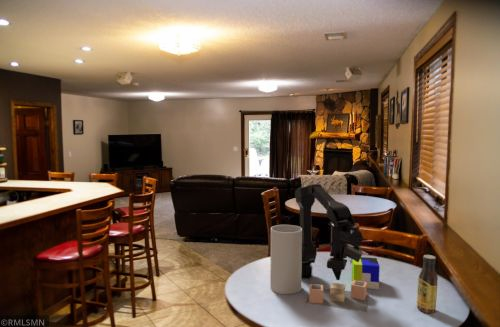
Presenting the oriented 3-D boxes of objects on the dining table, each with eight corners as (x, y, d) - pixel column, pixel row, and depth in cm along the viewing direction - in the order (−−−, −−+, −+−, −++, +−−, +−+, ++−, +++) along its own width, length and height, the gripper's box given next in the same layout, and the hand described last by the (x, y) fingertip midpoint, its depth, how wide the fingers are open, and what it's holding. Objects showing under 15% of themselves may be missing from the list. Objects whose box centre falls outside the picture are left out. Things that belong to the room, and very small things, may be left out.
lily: (370, 267, 182) (372, 248, 185) (350, 260, 178) (353, 240, 181) (353, 267, 192) (356, 249, 195) (334, 261, 188) (337, 242, 192)
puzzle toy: (378, 290, 153) (379, 266, 152) (353, 288, 155) (353, 264, 154) (375, 280, 163) (376, 258, 162) (351, 278, 165) (352, 256, 164)
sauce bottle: (413, 306, 139) (415, 253, 137) (429, 305, 139) (431, 252, 138) (422, 314, 132) (425, 259, 131) (440, 314, 133) (442, 258, 131)
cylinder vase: (303, 285, 158) (304, 226, 156) (297, 297, 146) (298, 233, 144) (275, 281, 162) (275, 223, 160) (266, 292, 150) (266, 231, 148)
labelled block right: (350, 297, 145) (351, 284, 145) (353, 292, 150) (354, 279, 149) (364, 300, 143) (364, 286, 143) (366, 295, 147) (367, 282, 147)
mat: (305, 303, 141) (305, 302, 141) (312, 287, 156) (312, 286, 156) (366, 313, 133) (366, 311, 133) (368, 294, 148) (368, 293, 148)
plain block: (330, 300, 143) (330, 287, 142) (331, 295, 147) (332, 282, 147) (343, 302, 141) (343, 289, 141) (344, 296, 146) (345, 284, 145)
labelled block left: (309, 302, 141) (309, 288, 140) (309, 296, 146) (309, 283, 145) (322, 303, 140) (323, 289, 140) (322, 297, 145) (322, 284, 145)
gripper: (359, 248, 131) (358, 292, 132) (362, 234, 148) (361, 273, 150) (326, 245, 135) (326, 288, 136) (333, 232, 152) (333, 270, 153)
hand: (338, 279), depth 143 cm, fingers closed
